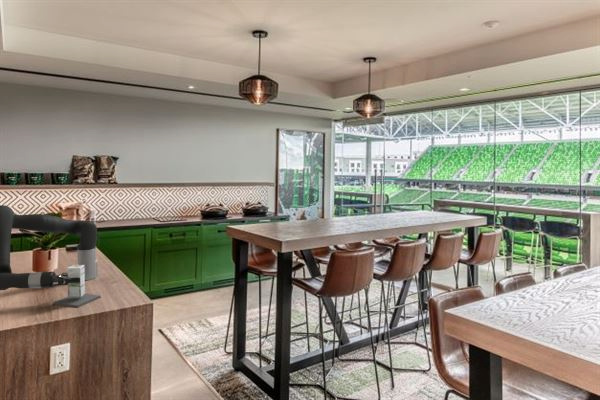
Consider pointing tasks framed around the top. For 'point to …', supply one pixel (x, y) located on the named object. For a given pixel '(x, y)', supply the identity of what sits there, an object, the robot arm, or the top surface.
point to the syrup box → (76, 288)
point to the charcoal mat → (77, 300)
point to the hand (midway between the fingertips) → (82, 278)
